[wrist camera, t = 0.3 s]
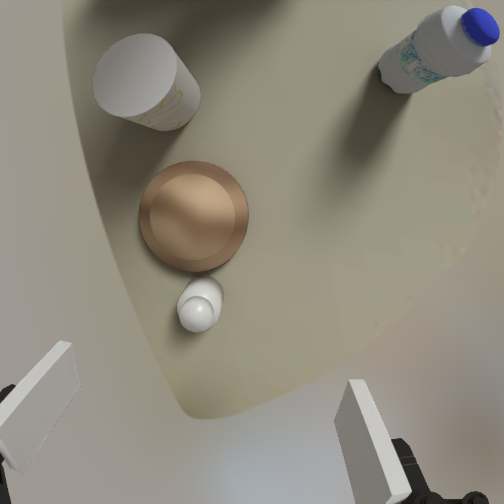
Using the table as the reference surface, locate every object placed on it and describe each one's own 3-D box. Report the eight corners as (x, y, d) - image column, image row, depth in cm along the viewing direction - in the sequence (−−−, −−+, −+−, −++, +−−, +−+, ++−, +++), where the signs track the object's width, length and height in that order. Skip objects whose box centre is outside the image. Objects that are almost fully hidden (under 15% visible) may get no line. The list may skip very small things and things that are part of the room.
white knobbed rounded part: (186, 273, 40) (173, 293, 33) (225, 278, 40) (219, 300, 33) (184, 308, 41) (172, 334, 34) (222, 313, 41) (216, 340, 34)
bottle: (399, 45, 31) (484, -16, 12) (426, 87, 33) (527, 51, 14) (362, 62, 32) (442, -7, 13) (391, 106, 34) (491, 69, 15)
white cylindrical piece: (138, 135, 35) (92, 125, 24) (136, 76, 33) (93, 46, 22) (202, 126, 35) (178, 107, 23) (198, 64, 33) (176, 25, 21)
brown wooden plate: (148, 158, 36) (142, 157, 34) (254, 167, 36) (254, 167, 34) (142, 260, 39) (136, 265, 37) (242, 272, 40) (241, 278, 37)
